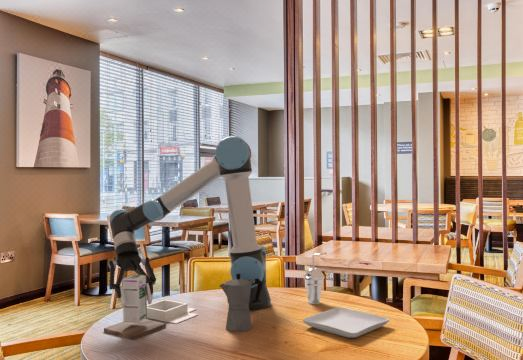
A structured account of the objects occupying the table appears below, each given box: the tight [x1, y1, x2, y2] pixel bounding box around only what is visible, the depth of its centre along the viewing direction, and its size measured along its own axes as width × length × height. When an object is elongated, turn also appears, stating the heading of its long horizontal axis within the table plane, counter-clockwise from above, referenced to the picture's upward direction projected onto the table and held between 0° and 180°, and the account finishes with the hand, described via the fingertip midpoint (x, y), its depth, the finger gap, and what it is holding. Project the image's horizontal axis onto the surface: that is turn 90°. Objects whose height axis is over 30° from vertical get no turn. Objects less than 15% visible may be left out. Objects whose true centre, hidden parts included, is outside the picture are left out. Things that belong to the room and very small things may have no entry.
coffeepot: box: [219, 273, 263, 333], centre depth 157 cm, size 15×9×18 cm, turn 115°
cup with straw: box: [302, 252, 327, 305], centre depth 186 cm, size 8×9×20 cm
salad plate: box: [302, 306, 390, 339], centre depth 156 cm, size 21×21×3 cm
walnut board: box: [103, 318, 167, 340], centre depth 156 cm, size 14×14×1 cm
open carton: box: [146, 299, 199, 325], centre depth 173 cm, size 17×17×4 cm
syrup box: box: [122, 274, 148, 323], centre depth 156 cm, size 6×6×14 cm
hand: (137, 303), depth 153 cm, fingers closed on syrup box, 8 cm apart
